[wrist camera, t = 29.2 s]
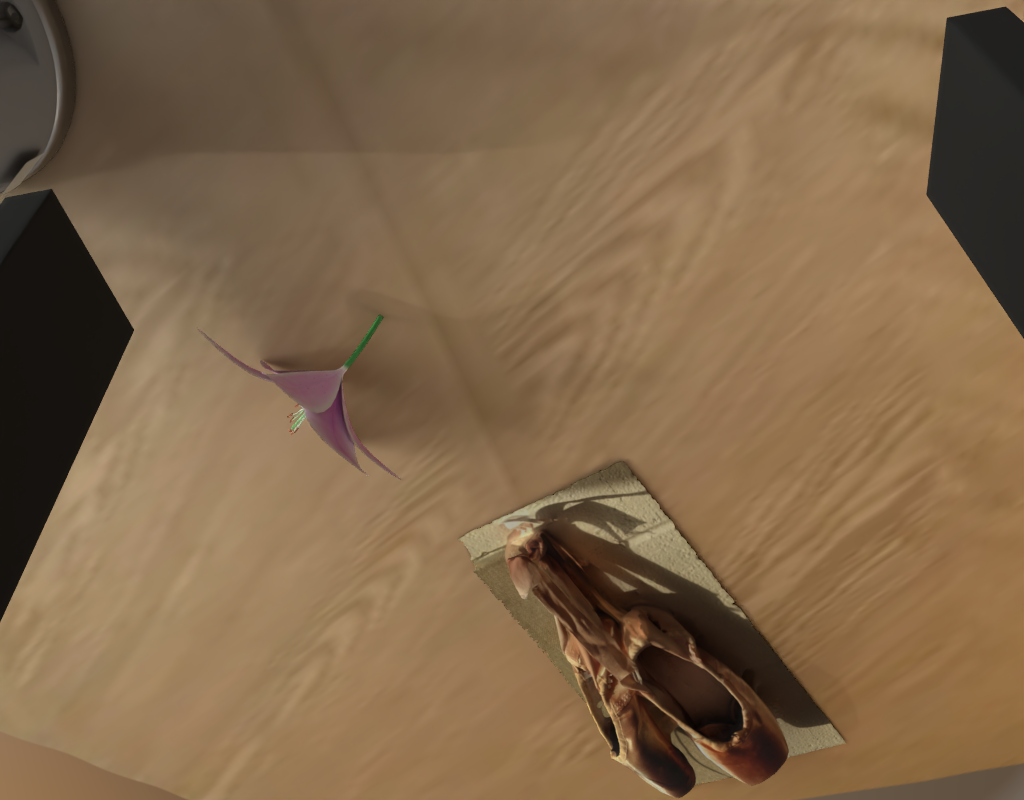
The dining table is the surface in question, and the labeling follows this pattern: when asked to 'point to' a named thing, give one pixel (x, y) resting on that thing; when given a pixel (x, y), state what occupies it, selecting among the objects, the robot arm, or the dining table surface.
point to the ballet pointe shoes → (647, 636)
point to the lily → (320, 401)
